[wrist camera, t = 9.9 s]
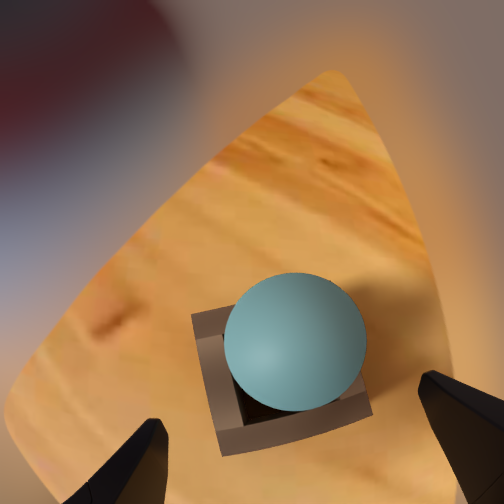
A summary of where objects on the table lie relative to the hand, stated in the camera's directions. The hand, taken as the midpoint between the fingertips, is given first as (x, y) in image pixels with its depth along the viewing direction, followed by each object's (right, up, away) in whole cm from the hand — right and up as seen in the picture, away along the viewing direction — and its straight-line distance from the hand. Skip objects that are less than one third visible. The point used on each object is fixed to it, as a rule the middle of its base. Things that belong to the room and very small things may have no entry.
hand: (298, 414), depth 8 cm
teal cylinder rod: (0, -3, +10) cm, 11 cm away
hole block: (0, -3, +10) cm, 11 cm away
